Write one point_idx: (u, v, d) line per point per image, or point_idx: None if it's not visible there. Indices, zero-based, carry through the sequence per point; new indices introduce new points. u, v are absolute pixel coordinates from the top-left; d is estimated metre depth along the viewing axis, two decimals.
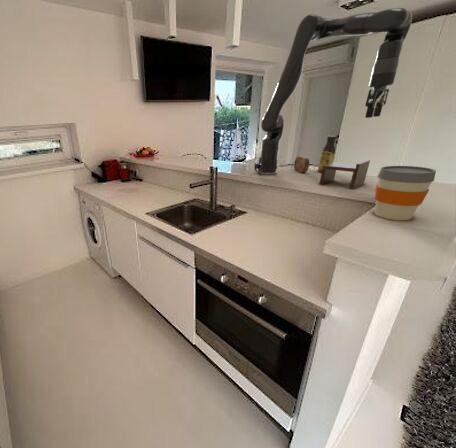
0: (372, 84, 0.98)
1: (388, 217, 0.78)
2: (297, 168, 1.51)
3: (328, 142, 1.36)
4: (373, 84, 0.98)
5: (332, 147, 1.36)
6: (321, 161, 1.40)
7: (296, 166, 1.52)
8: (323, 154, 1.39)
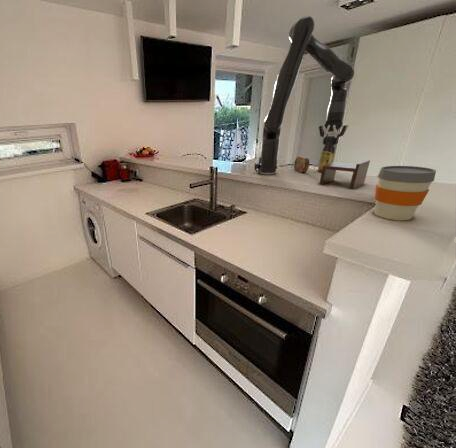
0: None
1: (388, 217, 0.78)
2: (297, 168, 1.51)
3: (327, 142, 1.36)
4: None
5: (331, 147, 1.36)
6: (321, 161, 1.40)
7: (296, 166, 1.52)
8: (323, 154, 1.39)
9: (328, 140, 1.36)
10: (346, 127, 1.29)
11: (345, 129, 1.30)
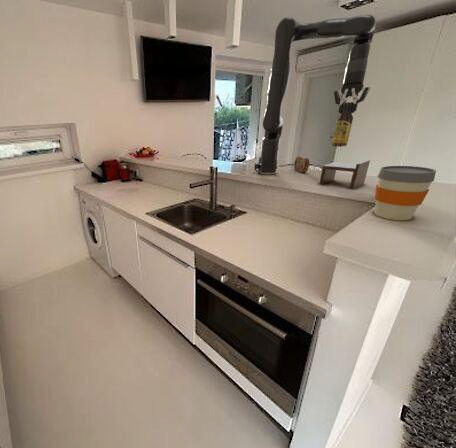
0: None
1: (388, 217, 0.78)
2: (297, 168, 1.51)
3: (344, 110, 1.16)
4: None
5: (349, 115, 1.15)
6: (336, 133, 1.20)
7: (296, 166, 1.52)
8: (339, 124, 1.18)
9: (345, 107, 1.15)
10: (368, 90, 1.08)
11: (366, 92, 1.10)
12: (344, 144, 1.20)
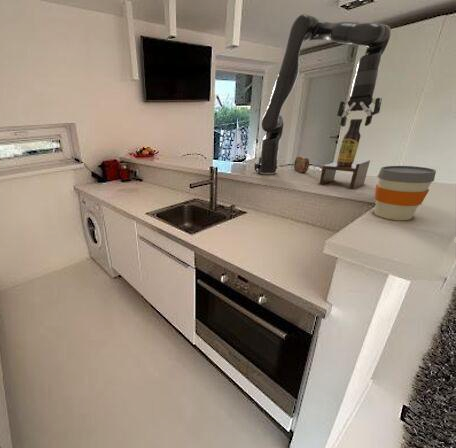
0: None
1: (388, 217, 0.78)
2: (297, 168, 1.51)
3: (351, 127, 1.07)
4: None
5: (356, 133, 1.06)
6: (342, 151, 1.11)
7: (296, 166, 1.52)
8: (345, 142, 1.09)
9: (352, 124, 1.06)
10: (380, 100, 0.98)
11: None
12: (350, 163, 1.11)
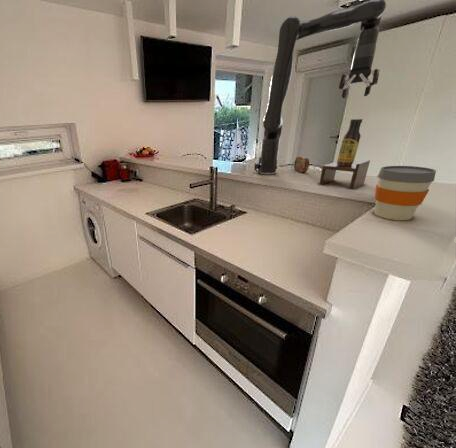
0: None
1: (388, 217, 0.78)
2: (297, 168, 1.51)
3: (351, 127, 1.07)
4: None
5: (356, 133, 1.06)
6: (342, 151, 1.11)
7: (296, 166, 1.52)
8: (345, 142, 1.09)
9: (352, 124, 1.06)
10: (378, 71, 1.08)
11: (377, 74, 1.09)
12: (350, 163, 1.11)
